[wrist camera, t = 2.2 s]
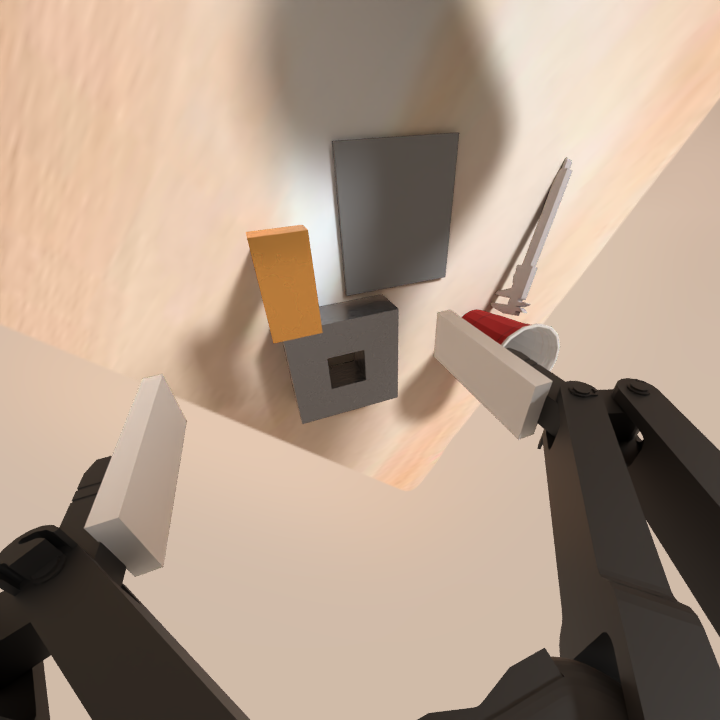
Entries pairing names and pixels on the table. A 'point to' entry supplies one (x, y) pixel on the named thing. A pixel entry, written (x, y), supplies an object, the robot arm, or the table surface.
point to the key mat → (394, 208)
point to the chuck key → (286, 281)
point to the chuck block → (352, 379)
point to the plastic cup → (519, 336)
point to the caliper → (535, 247)
